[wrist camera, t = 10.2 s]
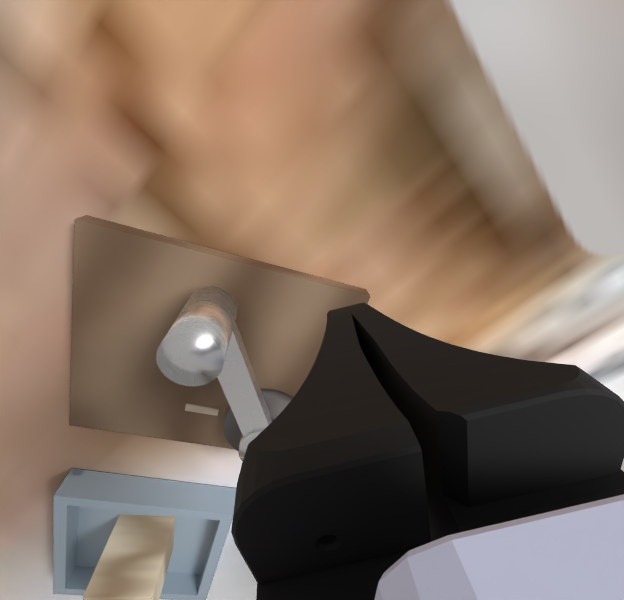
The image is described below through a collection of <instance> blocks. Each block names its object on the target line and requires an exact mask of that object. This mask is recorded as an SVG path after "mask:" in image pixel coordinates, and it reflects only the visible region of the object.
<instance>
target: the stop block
mask: <svg viewBox="0 0 624 600" xmlns="http://www.w3.org/2000/svg"><path fill="white" fill-rule="evenodd" d="M174 530H175V517H172V516H148V515H124V514H120V515H119V517H118V519H117V521H116V524H115V526H114V528H113V530H112V533H111V535H110V537H109V539H108V542H107V544H106V546H105V548H104V551H103V553H102V555H101V557H100V560H99V562H98V564H97V566H96V569H95V571H94V573H93V575H92V578H91V580H90V582H89V584H88V587H87V589H86V591H85V593H84V596H83V600H159V599H160V595H161V591H162V588H163V584H164V580H165V577H166V573H167V569H168V565H169V562H170V558H171V554H172V551H173V545H174Z"/></svg>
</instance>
